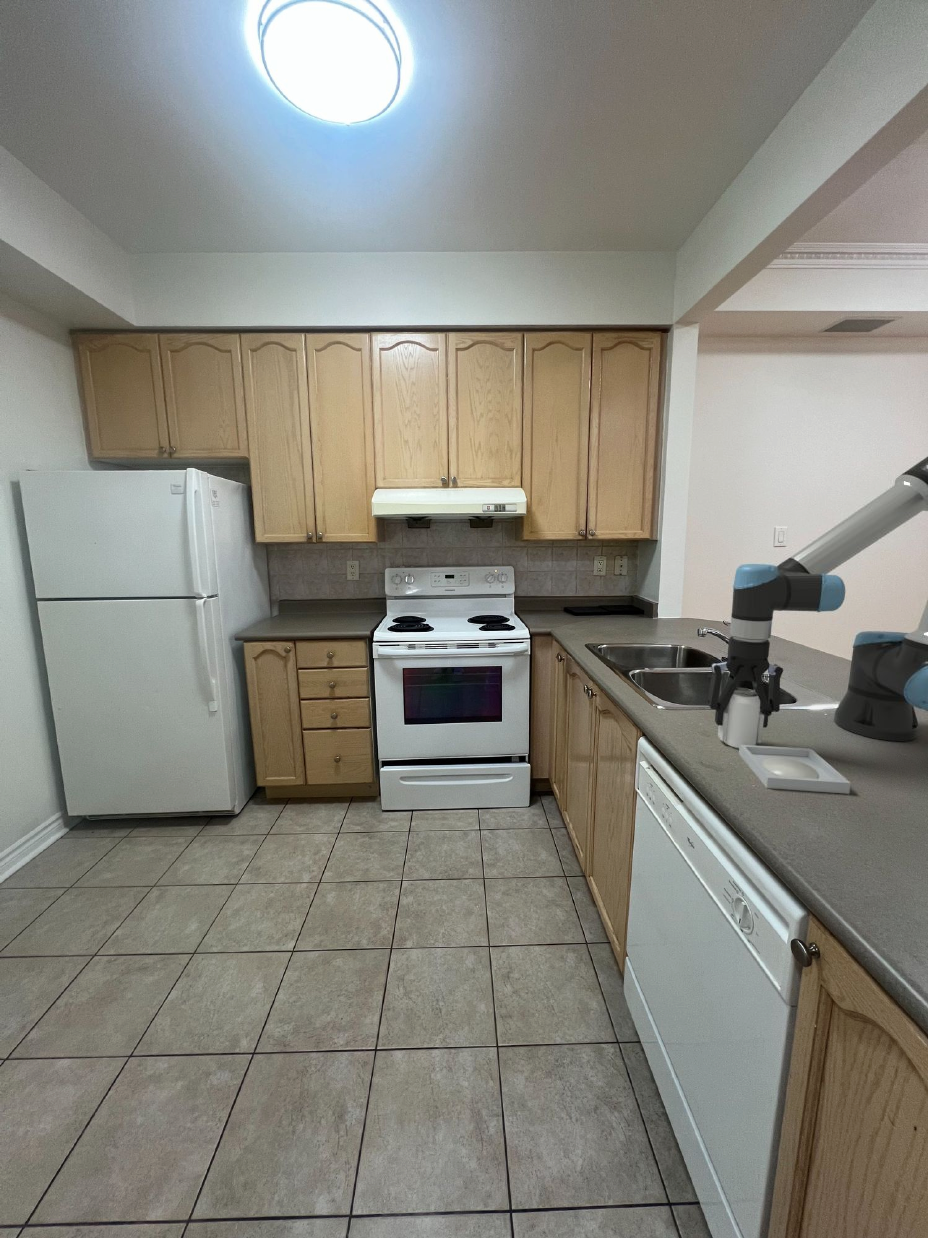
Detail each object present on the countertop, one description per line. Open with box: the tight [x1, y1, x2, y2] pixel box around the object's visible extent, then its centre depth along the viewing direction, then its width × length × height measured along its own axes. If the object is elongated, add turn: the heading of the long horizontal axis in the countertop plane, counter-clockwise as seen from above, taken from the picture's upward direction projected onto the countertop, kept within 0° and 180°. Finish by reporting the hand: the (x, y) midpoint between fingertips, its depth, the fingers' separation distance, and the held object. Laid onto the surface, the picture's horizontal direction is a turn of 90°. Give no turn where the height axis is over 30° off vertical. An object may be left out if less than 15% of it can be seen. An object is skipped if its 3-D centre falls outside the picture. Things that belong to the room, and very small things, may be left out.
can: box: [723, 687, 760, 750], centre depth 106 cm, size 6×6×12 cm
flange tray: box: [738, 745, 852, 795], centre depth 95 cm, size 14×14×2 cm
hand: (739, 739), depth 107 cm, fingers closed on can, 6 cm apart
